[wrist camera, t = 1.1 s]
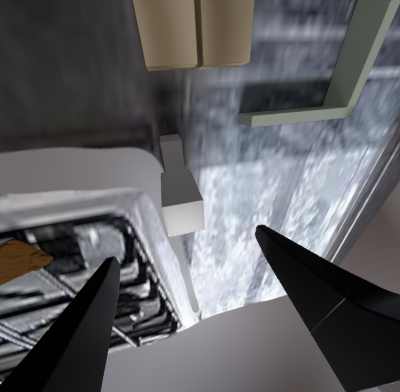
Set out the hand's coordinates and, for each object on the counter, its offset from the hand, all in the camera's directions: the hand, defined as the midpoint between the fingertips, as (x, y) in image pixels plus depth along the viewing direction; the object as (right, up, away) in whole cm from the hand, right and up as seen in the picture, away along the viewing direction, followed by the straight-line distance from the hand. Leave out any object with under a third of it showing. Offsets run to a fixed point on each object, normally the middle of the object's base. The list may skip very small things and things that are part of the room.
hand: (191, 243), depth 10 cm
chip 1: (-2, +16, +3) cm, 17 cm away
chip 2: (+2, +17, +4) cm, 18 cm away
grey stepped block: (-3, +6, +9) cm, 12 cm away
